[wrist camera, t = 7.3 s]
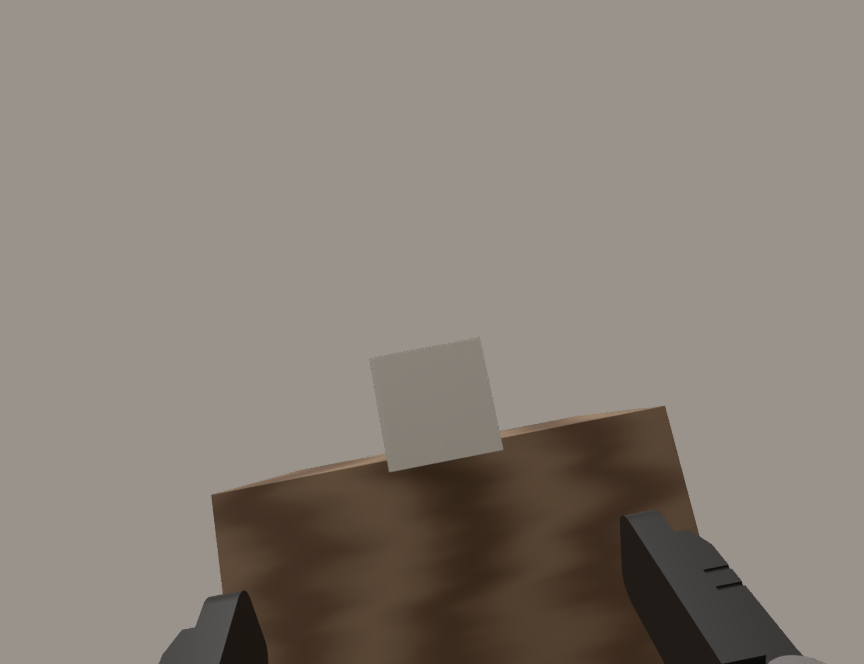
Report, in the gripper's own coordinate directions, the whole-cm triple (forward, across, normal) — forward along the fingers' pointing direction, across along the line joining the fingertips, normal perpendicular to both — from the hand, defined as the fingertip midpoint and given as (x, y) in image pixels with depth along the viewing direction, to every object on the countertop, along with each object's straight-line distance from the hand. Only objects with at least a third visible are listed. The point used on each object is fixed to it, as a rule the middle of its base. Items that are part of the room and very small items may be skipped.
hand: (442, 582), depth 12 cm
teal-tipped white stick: (+14, +1, -6) cm, 15 cm away
